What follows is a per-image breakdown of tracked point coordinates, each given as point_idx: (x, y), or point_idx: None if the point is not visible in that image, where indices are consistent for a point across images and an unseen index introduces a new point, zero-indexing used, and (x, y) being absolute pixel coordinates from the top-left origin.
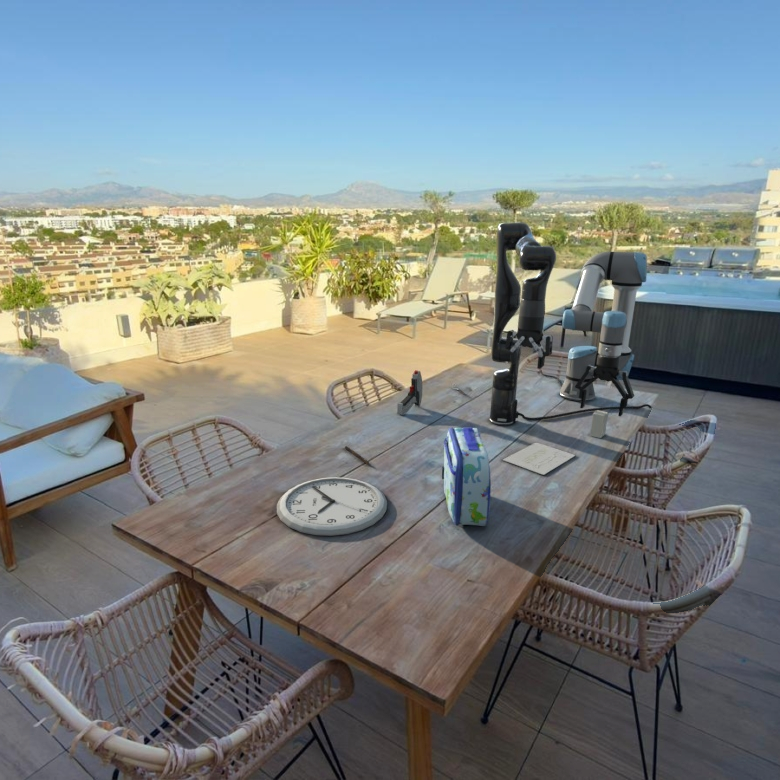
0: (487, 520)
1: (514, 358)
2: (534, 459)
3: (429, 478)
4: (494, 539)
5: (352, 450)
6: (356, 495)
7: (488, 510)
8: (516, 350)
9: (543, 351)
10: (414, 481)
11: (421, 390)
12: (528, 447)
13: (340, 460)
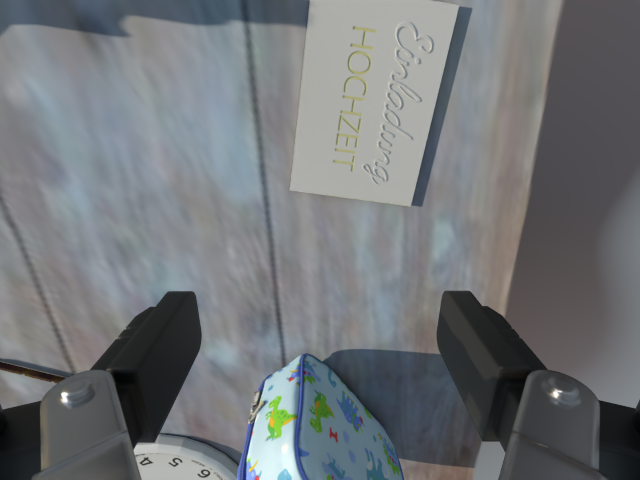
0: (397, 458)
1: (181, 371)
2: (360, 131)
3: (217, 358)
4: (408, 441)
5: (13, 371)
6: (178, 472)
7: (402, 476)
8: (116, 389)
9: (576, 443)
10: (204, 382)
11: None
12: (310, 50)
13: (35, 397)
